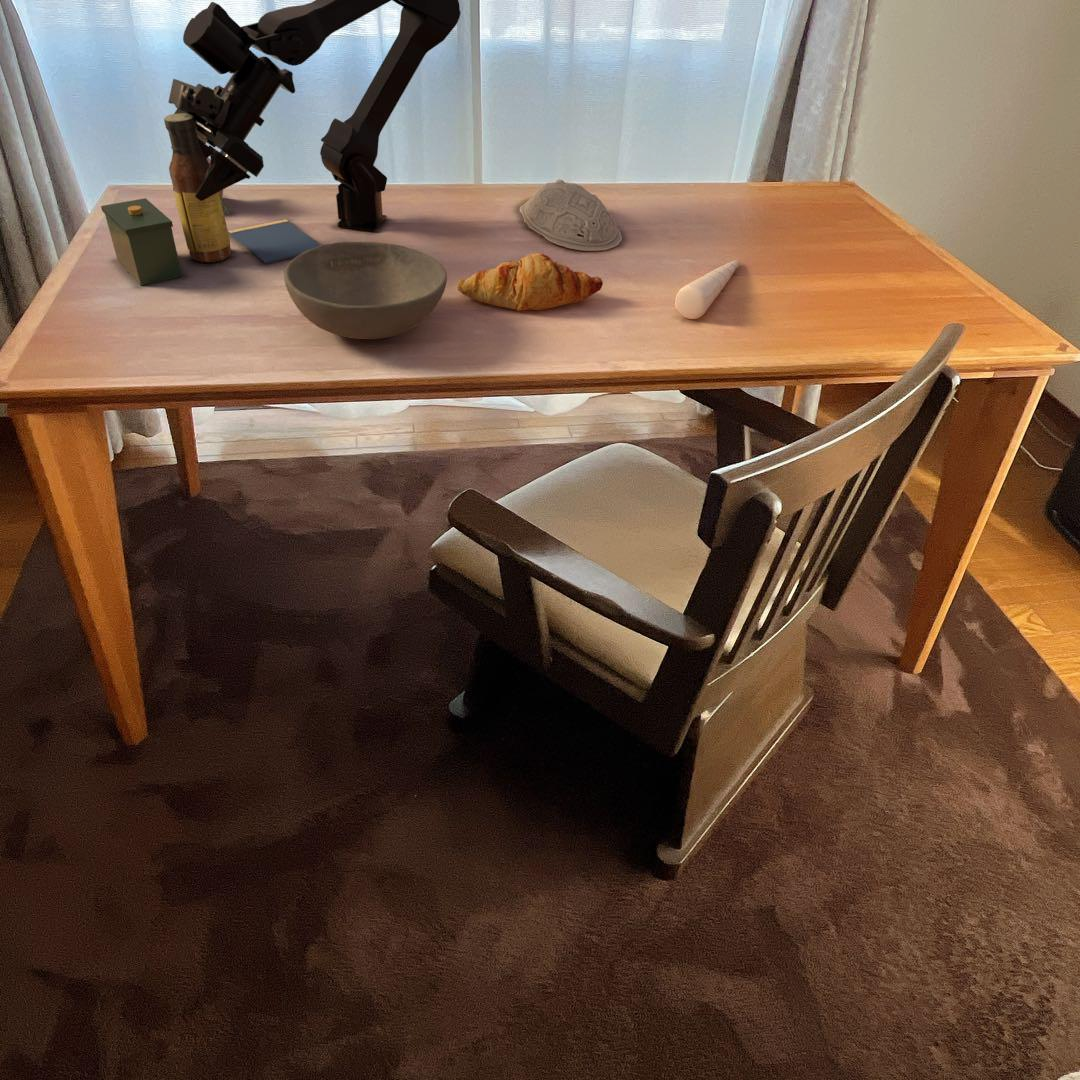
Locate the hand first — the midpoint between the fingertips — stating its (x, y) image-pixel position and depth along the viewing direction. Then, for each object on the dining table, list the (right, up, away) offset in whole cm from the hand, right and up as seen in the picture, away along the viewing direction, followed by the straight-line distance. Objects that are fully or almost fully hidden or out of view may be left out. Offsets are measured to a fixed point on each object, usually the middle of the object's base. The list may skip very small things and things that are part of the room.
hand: (185, 188), depth 126 cm
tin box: (-7, -11, +3) cm, 13 cm away
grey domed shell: (+56, +4, +26) cm, 62 cm away
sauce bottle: (+1, -7, +8) cm, 11 cm away
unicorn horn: (+77, -13, +7) cm, 79 cm away
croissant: (+50, -15, +2) cm, 52 cm away
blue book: (+9, -3, +13) cm, 16 cm away
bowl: (+28, -22, -7) cm, 36 cm away
